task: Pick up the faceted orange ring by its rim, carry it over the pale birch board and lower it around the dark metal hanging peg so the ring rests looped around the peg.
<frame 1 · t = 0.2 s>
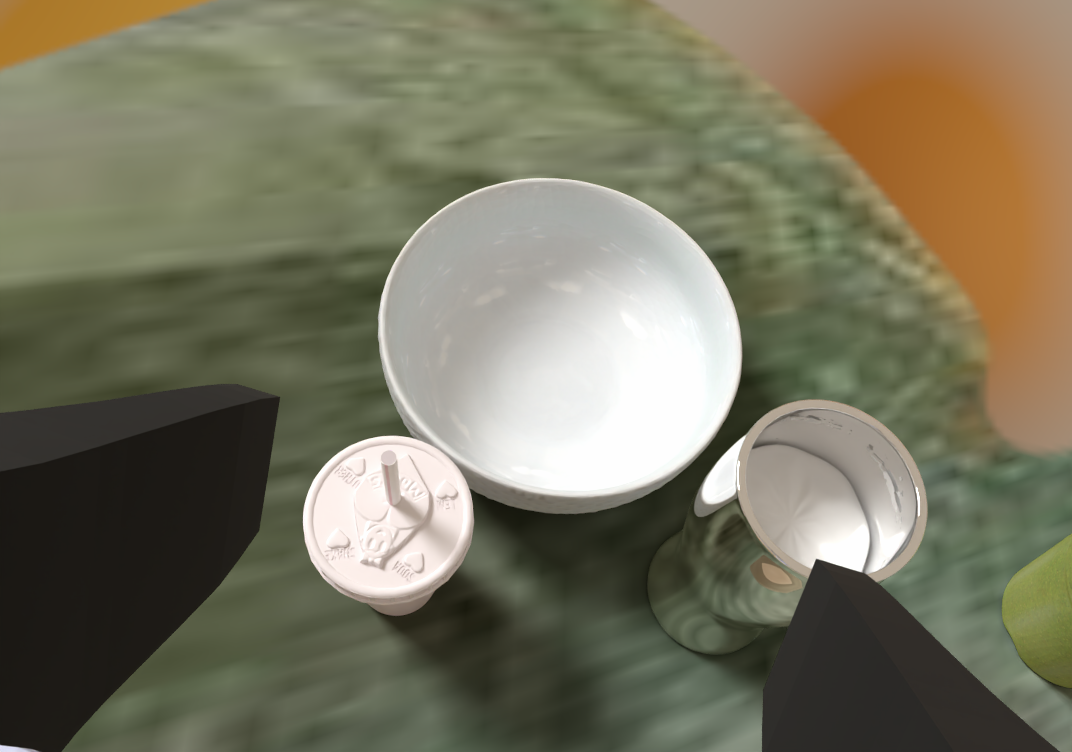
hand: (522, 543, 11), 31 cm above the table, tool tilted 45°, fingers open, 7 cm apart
smoothie: (398, 577, 42), on the table
cereal bowl: (546, 390, 47), on the table
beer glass: (706, 591, 43), on the table
plant pot: (1056, 627, 44), on the table
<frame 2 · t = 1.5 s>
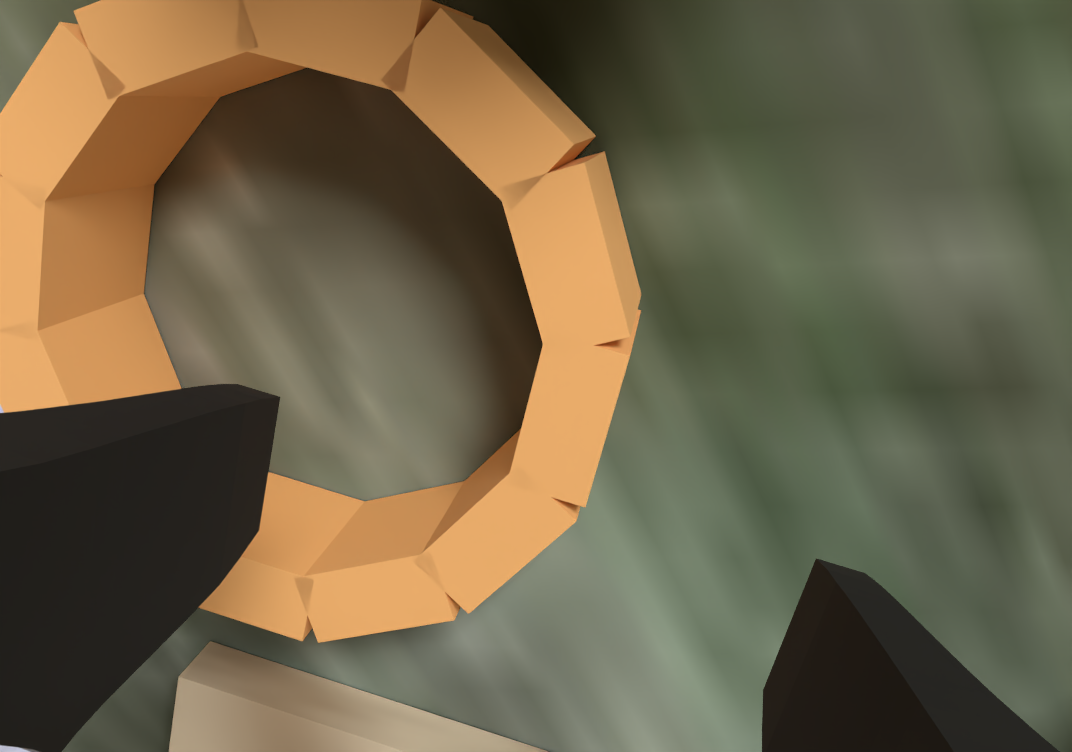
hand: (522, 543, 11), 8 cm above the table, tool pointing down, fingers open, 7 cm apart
faceted orange ring: (347, 297, 19), on the table
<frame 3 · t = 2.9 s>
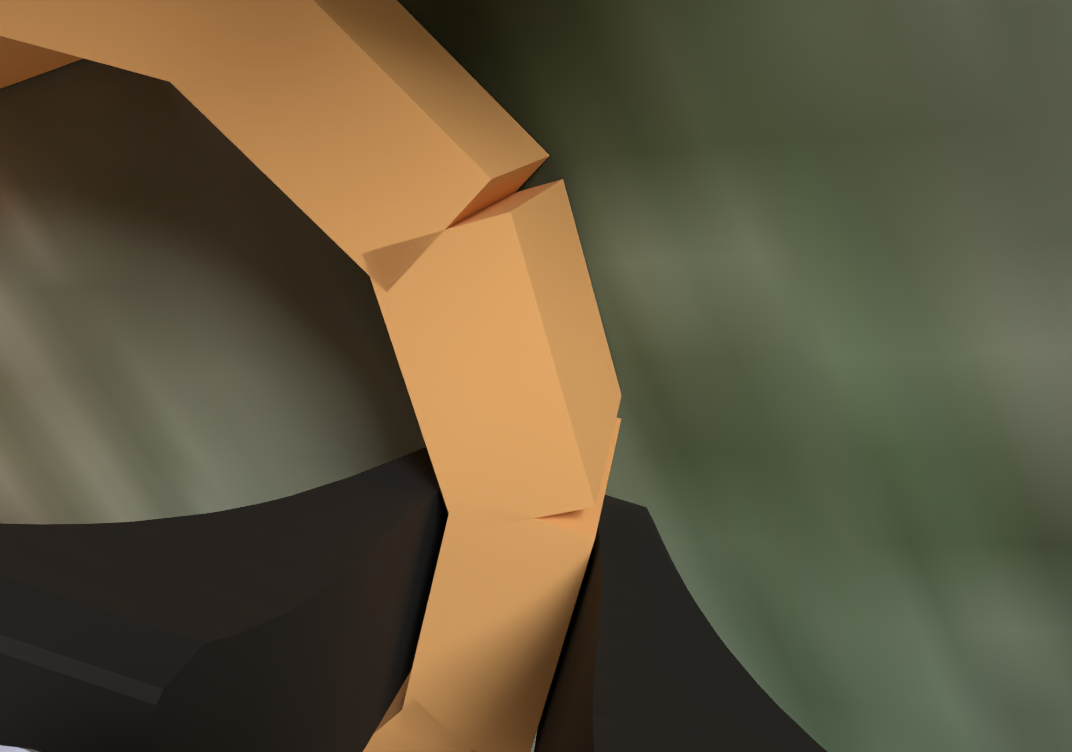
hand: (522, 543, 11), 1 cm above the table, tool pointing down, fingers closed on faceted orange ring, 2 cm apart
faceted orange ring: (188, 391, 13), on the table, touching gripper
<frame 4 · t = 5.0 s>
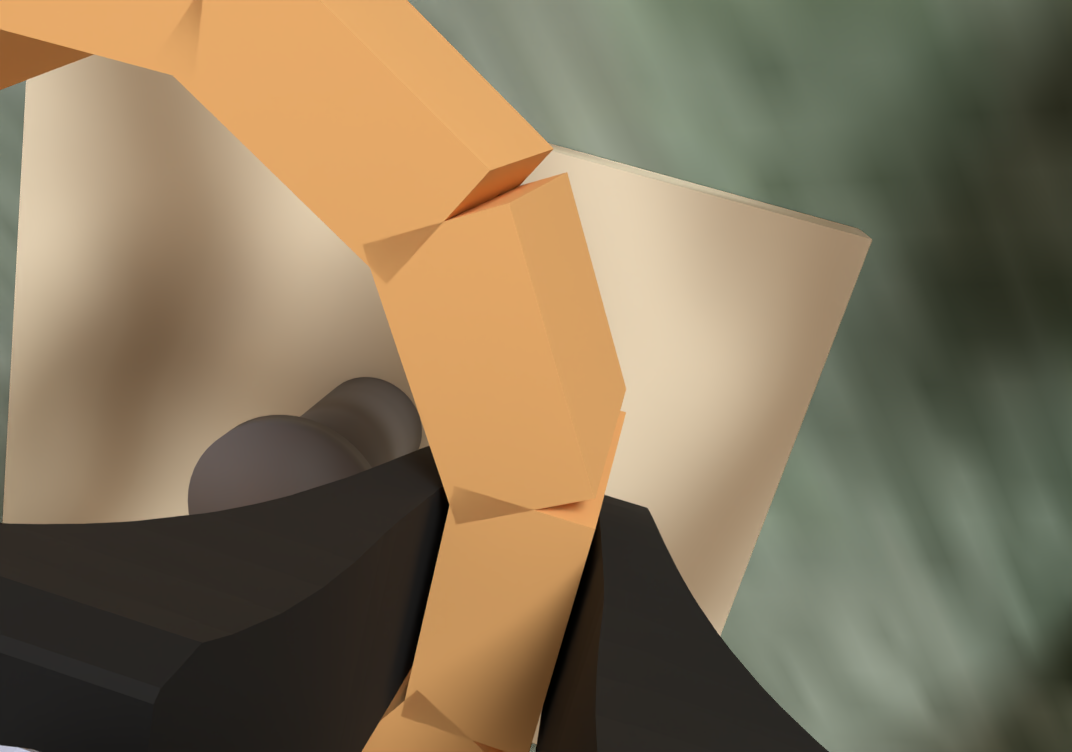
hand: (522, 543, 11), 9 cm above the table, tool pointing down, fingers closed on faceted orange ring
faceted orange ring: (197, 384, 13), point 8 cm above the table, touching gripper
peg board: (392, 405, 22), on the table
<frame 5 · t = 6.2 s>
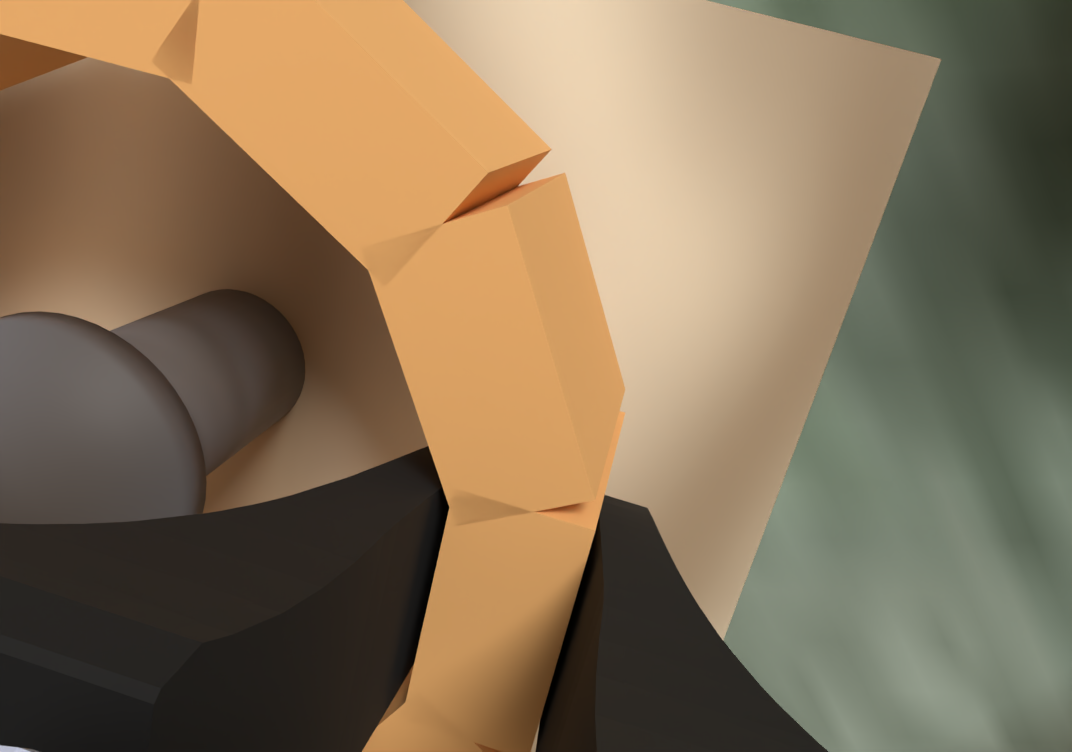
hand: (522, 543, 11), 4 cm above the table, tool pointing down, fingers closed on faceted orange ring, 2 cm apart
faceted orange ring: (196, 386, 13), point 3 cm above the table, touching gripper
peg board: (276, 337, 16), on the table
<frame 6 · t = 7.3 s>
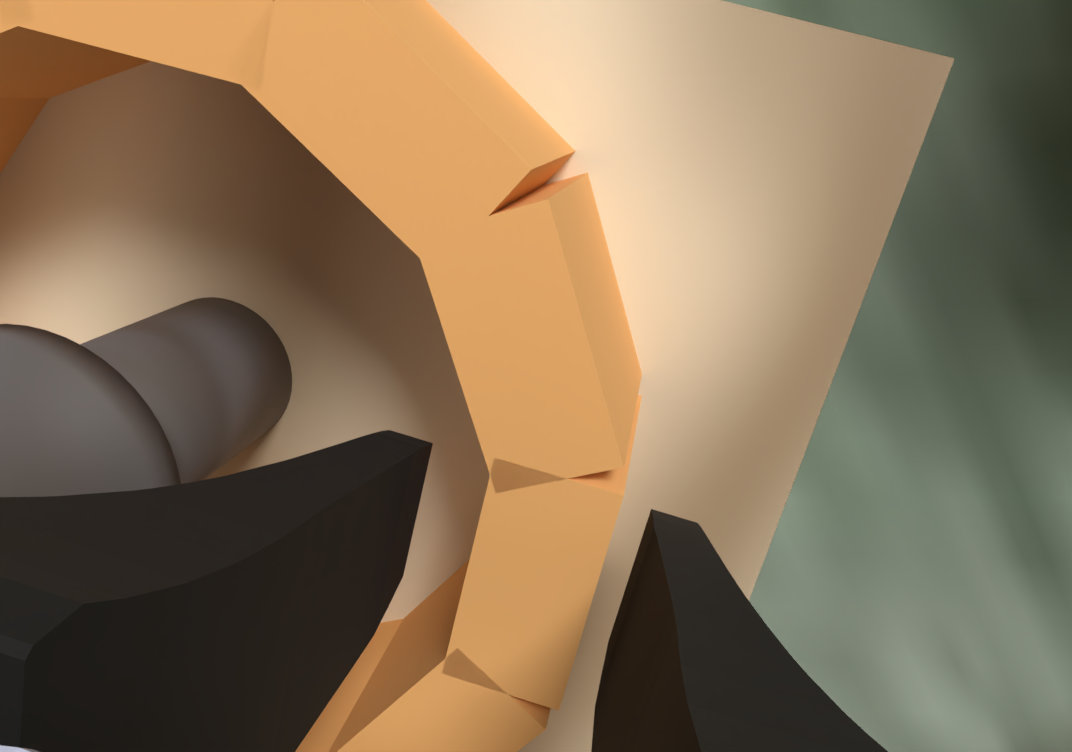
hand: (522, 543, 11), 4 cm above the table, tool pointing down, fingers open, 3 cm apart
faceted orange ring: (236, 373, 14), point 1 cm above the table, touching peg board
peg board: (264, 346, 16), on the table
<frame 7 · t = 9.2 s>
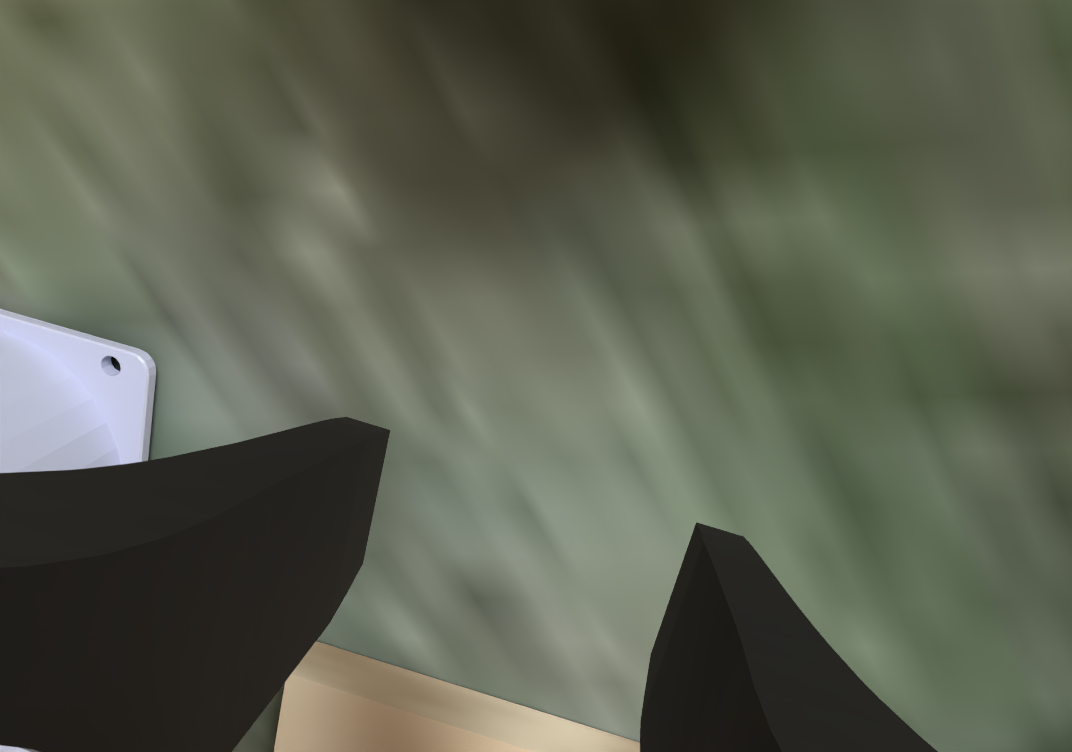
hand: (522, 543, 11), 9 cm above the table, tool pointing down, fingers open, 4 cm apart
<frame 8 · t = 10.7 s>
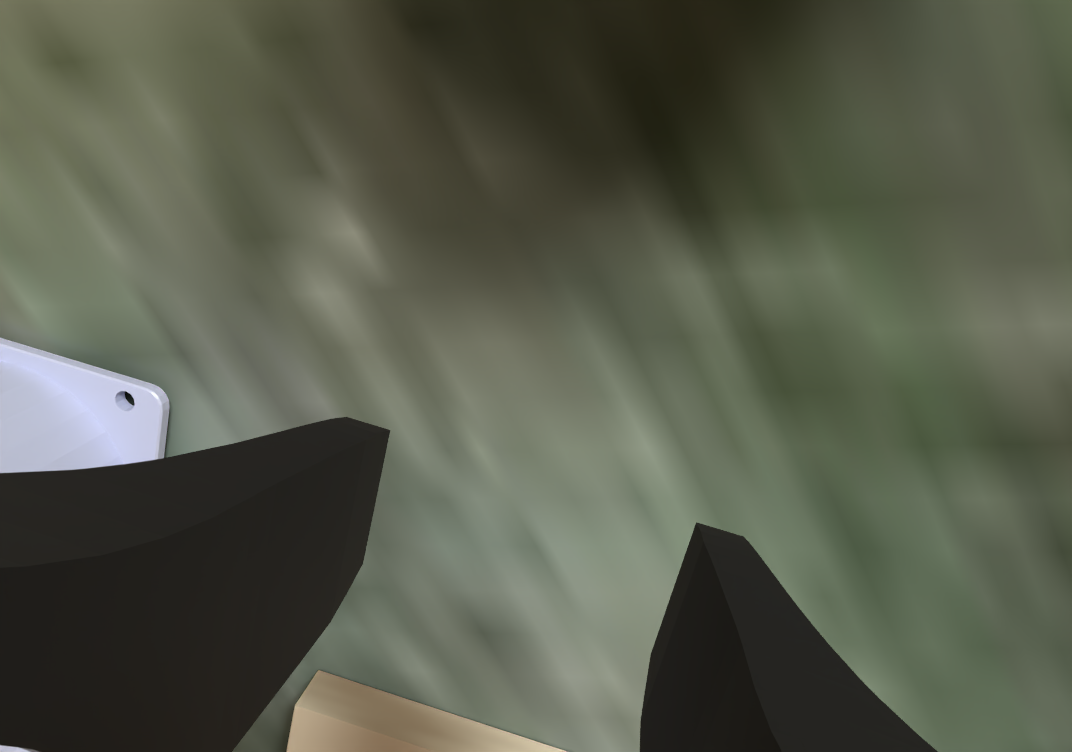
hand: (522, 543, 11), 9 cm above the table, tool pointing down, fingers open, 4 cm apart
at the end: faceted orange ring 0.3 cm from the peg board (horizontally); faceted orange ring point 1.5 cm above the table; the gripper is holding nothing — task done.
